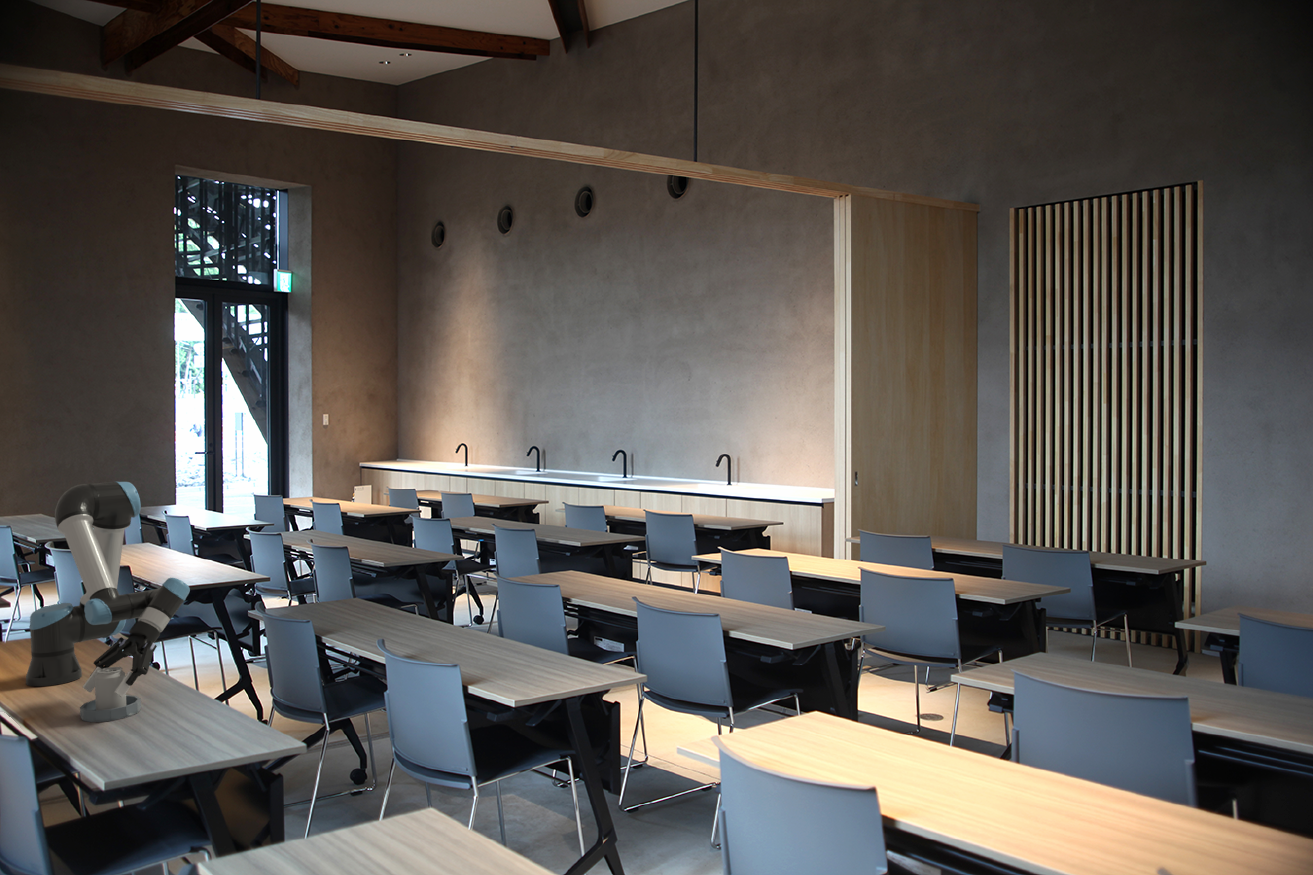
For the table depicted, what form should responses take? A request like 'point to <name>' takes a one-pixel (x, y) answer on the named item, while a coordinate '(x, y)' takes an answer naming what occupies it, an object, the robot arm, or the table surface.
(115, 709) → the dish
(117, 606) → the robot arm
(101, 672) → the can
